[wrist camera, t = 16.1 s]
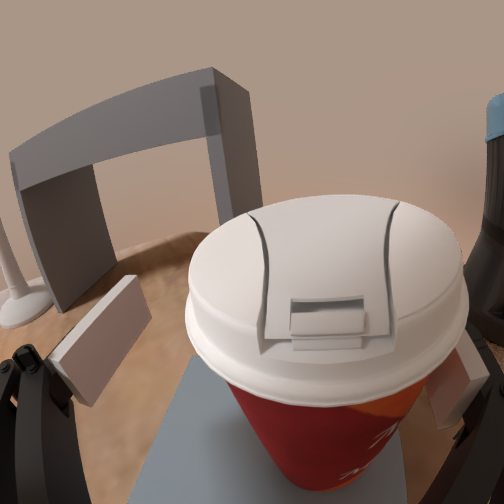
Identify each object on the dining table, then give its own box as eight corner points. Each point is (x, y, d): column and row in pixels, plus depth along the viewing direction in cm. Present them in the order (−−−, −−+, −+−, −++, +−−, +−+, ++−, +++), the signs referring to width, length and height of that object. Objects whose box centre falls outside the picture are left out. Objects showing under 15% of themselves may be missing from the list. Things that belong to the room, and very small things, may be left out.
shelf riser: (268, 257, 41) (249, 92, 31) (250, 329, 27) (212, 66, 17) (112, 263, 46) (82, 136, 37) (58, 312, 32) (8, 152, 23)
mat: (380, 363, 20) (382, 354, 20) (402, 548, 6) (408, 547, 5) (194, 363, 23) (192, 355, 23) (127, 524, 9) (119, 521, 8)
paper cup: (386, 503, 8) (544, 322, 2) (248, 502, 11) (102, 338, 4) (384, 397, 15) (418, 184, 9) (273, 400, 17) (225, 199, 11)
